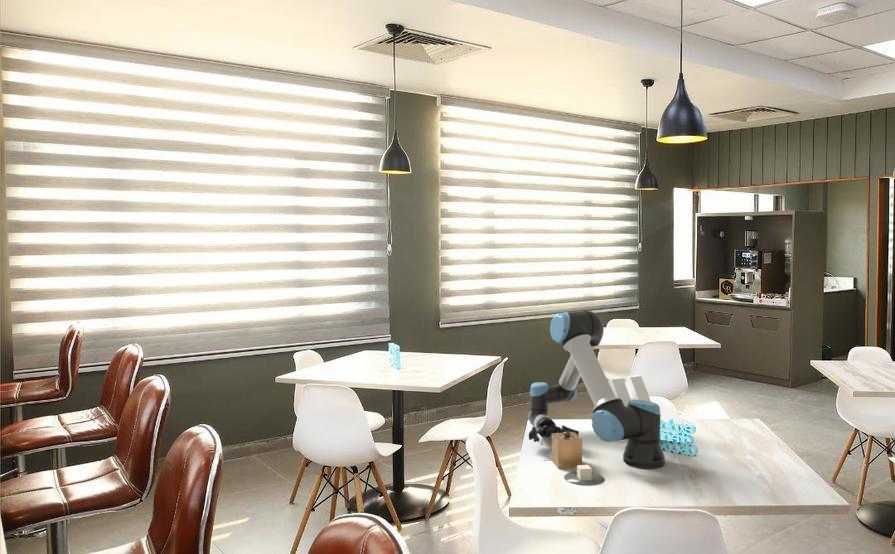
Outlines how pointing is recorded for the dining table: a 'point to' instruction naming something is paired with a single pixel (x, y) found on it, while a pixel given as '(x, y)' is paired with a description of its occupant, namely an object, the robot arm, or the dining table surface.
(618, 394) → the milk carton
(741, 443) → the dining table surface
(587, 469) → the cake cube
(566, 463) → the wooden cube with knob
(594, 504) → the dining table surface
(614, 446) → the dining table surface
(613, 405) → the robot arm
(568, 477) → the plate
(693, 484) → the dining table surface
